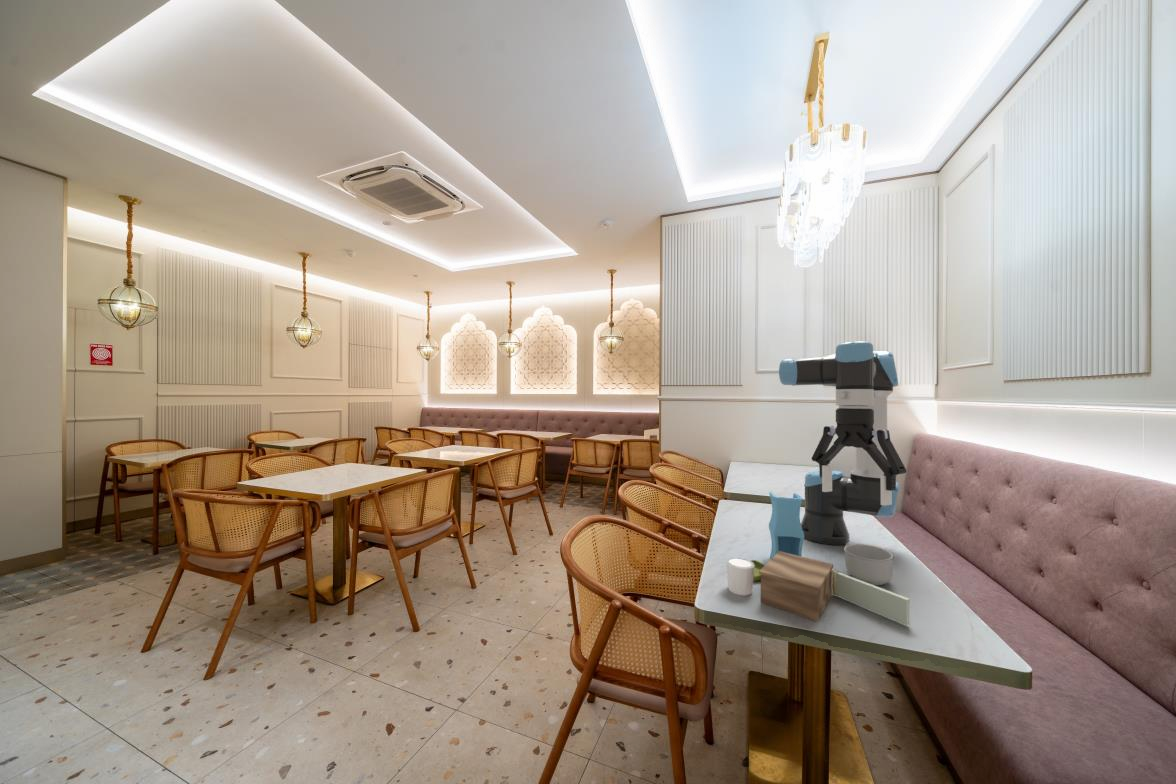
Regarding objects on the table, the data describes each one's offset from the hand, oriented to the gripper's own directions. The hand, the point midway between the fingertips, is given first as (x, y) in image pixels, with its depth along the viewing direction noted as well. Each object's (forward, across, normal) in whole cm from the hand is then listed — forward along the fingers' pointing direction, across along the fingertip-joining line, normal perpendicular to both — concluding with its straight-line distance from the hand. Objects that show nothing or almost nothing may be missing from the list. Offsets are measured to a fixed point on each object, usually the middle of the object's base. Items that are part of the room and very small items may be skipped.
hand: (854, 497), depth 93 cm
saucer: (+26, -22, -8) cm, 35 cm away
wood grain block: (+26, -8, -9) cm, 28 cm away
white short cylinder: (+26, -17, -19) cm, 36 cm away
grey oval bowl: (+26, -9, +18) cm, 33 cm away
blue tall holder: (+26, -24, +6) cm, 36 cm away
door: (+25, +2, +1) cm, 25 cm away
